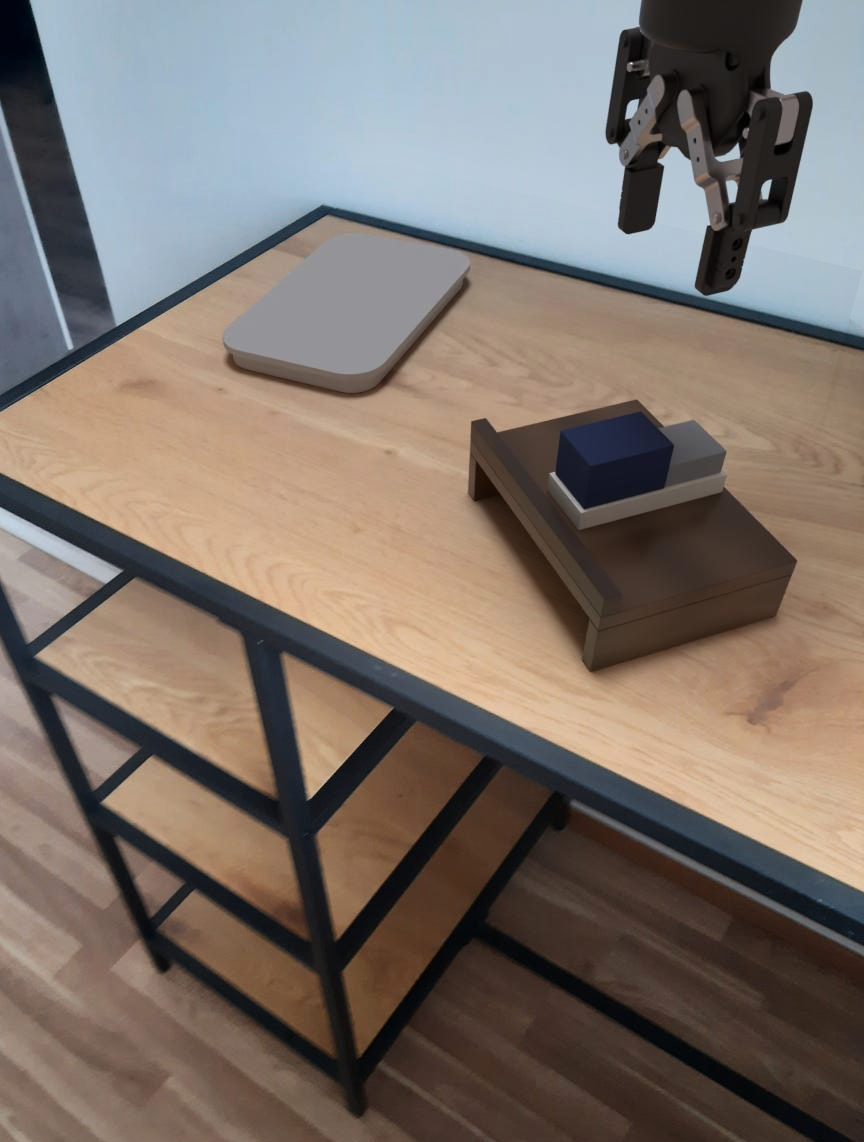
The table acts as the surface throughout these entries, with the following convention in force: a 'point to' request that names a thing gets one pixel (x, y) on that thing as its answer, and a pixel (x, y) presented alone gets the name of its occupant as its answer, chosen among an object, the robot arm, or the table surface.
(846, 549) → the table surface
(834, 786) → the table surface
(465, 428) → the table surface
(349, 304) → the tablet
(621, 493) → the stacked block set
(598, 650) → the dark wooden stand
